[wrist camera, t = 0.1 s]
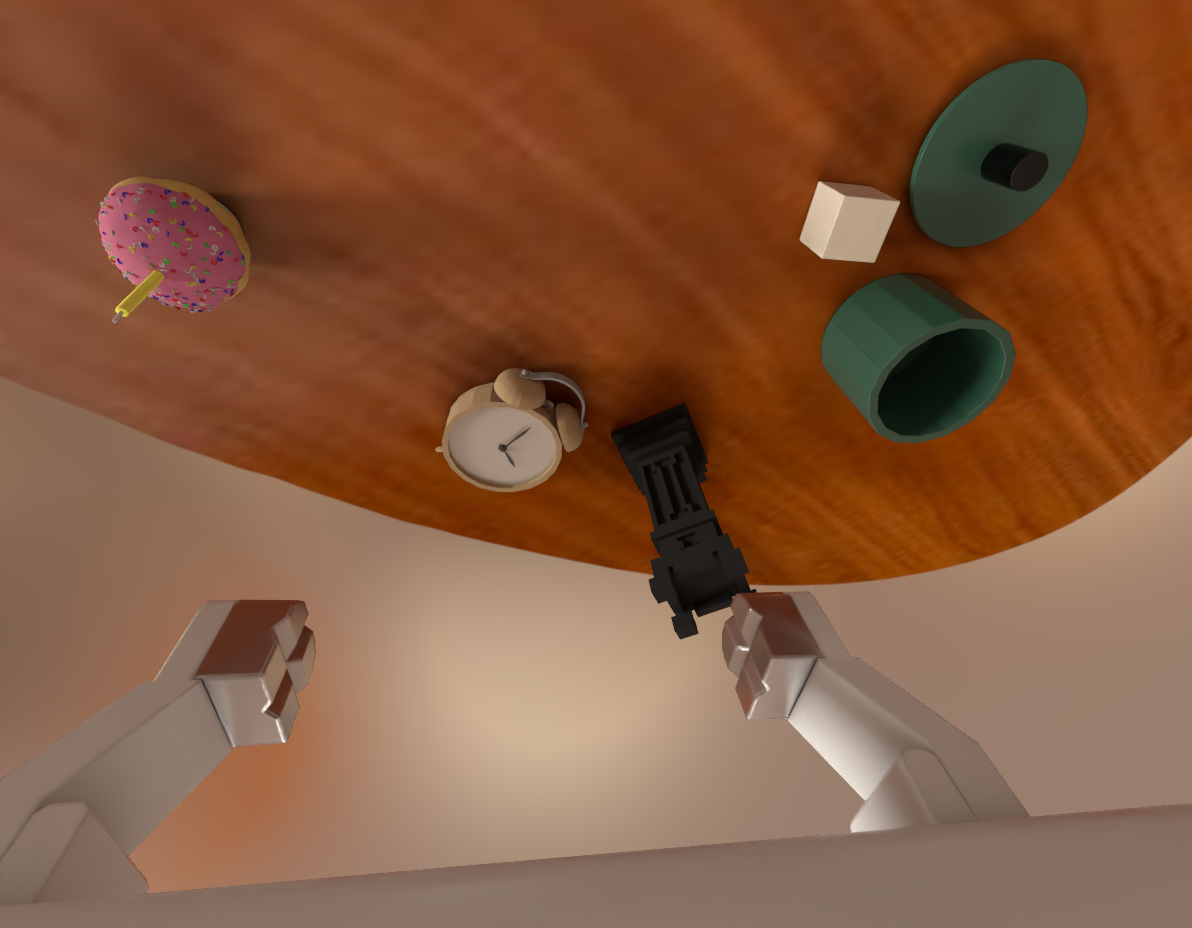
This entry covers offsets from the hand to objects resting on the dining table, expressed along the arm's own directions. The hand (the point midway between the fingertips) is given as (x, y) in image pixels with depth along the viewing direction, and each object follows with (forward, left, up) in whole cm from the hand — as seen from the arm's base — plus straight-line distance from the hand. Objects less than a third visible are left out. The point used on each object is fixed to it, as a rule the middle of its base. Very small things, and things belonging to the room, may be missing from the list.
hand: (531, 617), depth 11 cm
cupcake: (+6, -23, -39) cm, 46 cm away
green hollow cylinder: (+11, +34, -39) cm, 53 cm away
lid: (-4, +36, -38) cm, 53 cm away
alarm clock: (+22, 0, -39) cm, 45 cm away
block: (+1, +25, -39) cm, 46 cm away
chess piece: (+25, +15, -39) cm, 49 cm away
